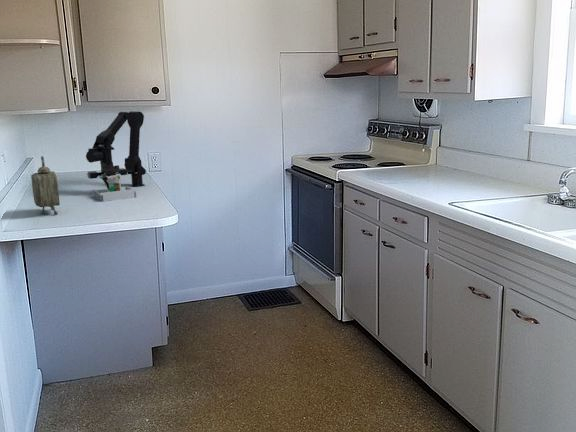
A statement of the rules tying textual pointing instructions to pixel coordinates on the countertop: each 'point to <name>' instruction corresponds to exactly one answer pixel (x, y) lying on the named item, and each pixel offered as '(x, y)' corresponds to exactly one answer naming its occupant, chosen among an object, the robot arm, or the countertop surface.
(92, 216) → the countertop surface
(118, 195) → the frame
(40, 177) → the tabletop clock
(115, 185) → the food container
